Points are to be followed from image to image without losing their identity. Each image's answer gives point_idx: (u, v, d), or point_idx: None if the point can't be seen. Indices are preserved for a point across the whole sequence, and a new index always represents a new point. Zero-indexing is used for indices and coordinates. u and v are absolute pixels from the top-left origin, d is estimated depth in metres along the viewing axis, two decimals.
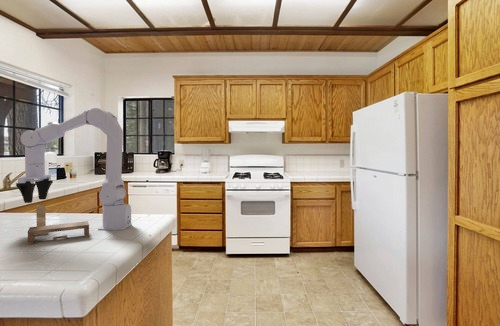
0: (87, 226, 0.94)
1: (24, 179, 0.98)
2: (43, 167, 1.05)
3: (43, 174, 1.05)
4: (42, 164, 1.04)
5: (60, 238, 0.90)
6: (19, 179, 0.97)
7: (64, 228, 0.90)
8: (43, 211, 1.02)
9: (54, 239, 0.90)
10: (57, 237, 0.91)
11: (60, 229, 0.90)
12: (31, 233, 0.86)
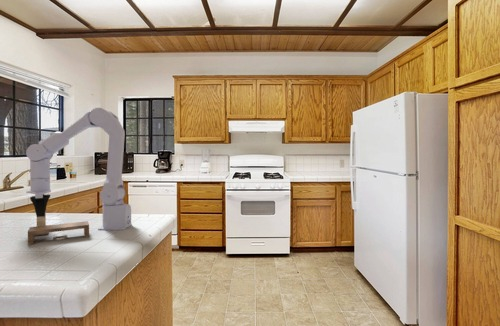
0: (87, 226, 0.94)
1: (42, 194, 0.98)
2: (49, 181, 1.04)
3: (49, 188, 1.04)
4: (49, 178, 1.04)
5: (60, 238, 0.90)
6: (37, 194, 0.96)
7: (64, 228, 0.90)
8: None
9: (54, 239, 0.90)
10: (57, 237, 0.91)
11: (60, 229, 0.90)
12: (31, 233, 0.86)
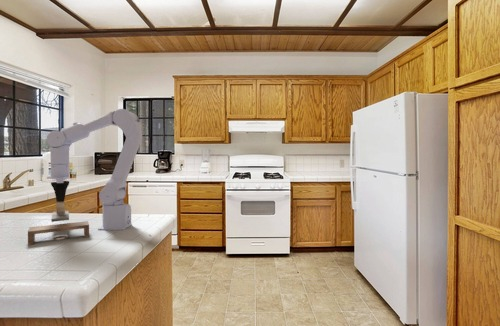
0: (87, 226, 0.94)
1: (63, 179, 1.00)
2: None
3: None
4: None
5: (60, 238, 0.90)
6: (58, 179, 0.99)
7: (64, 228, 0.90)
8: None
9: (54, 239, 0.90)
10: (57, 237, 0.91)
11: (60, 229, 0.90)
12: (31, 233, 0.86)
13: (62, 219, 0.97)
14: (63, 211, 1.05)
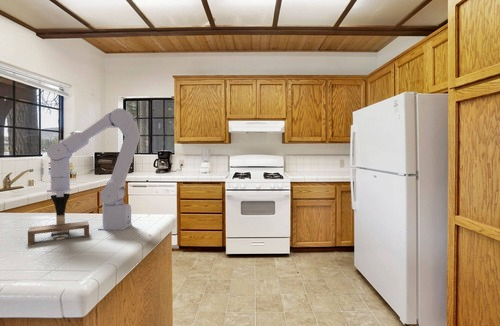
0: (87, 226, 0.94)
1: None
2: None
3: None
4: (69, 177, 1.05)
5: (61, 238, 0.91)
6: (58, 193, 0.97)
7: (64, 228, 0.90)
8: None
9: (55, 239, 0.90)
10: (57, 237, 0.91)
11: (60, 229, 0.90)
12: (31, 233, 0.86)
13: (62, 233, 0.96)
14: None
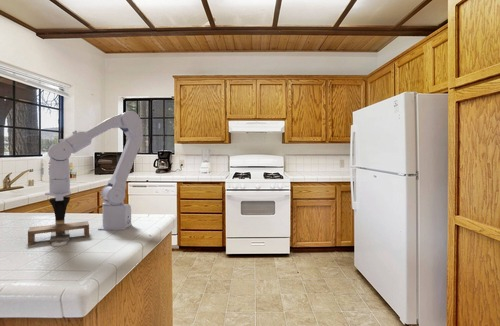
0: (87, 226, 0.94)
1: None
2: (69, 182, 0.97)
3: (69, 189, 0.97)
4: (69, 179, 0.97)
5: (60, 244, 0.84)
6: (58, 196, 0.89)
7: (64, 228, 0.90)
8: None
9: (53, 245, 0.84)
10: (56, 243, 0.84)
11: (60, 229, 0.90)
12: (31, 233, 0.86)
13: None
14: (63, 231, 0.96)
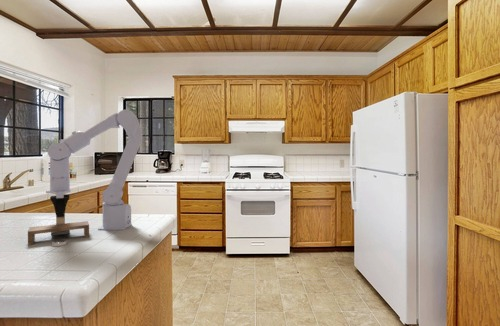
0: (87, 226, 0.94)
1: (63, 194, 0.95)
2: None
3: None
4: (69, 177, 1.02)
5: (60, 244, 0.84)
6: (58, 194, 0.94)
7: (64, 228, 0.90)
8: None
9: (53, 245, 0.84)
10: (56, 243, 0.84)
11: (60, 229, 0.90)
12: (31, 233, 0.86)
13: (62, 233, 0.92)
14: None
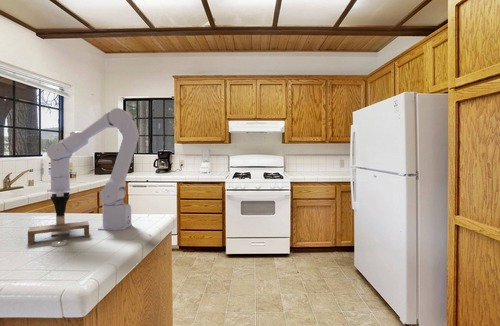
0: (87, 226, 0.94)
1: (63, 192, 0.99)
2: None
3: None
4: None
5: (60, 244, 0.84)
6: (58, 192, 0.98)
7: (64, 228, 0.90)
8: None
9: (53, 245, 0.84)
10: (56, 243, 0.84)
11: (60, 229, 0.90)
12: (31, 233, 0.86)
13: (62, 234, 0.95)
14: None
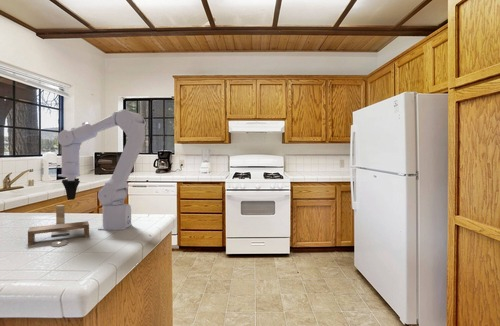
0: (87, 226, 0.94)
1: (74, 177, 1.03)
2: None
3: None
4: None
5: (60, 244, 0.84)
6: (69, 177, 1.02)
7: (64, 228, 0.90)
8: (62, 211, 1.03)
9: (53, 245, 0.84)
10: (57, 243, 0.84)
11: (60, 229, 0.90)
12: (31, 233, 0.86)
13: (62, 234, 0.95)
14: None
